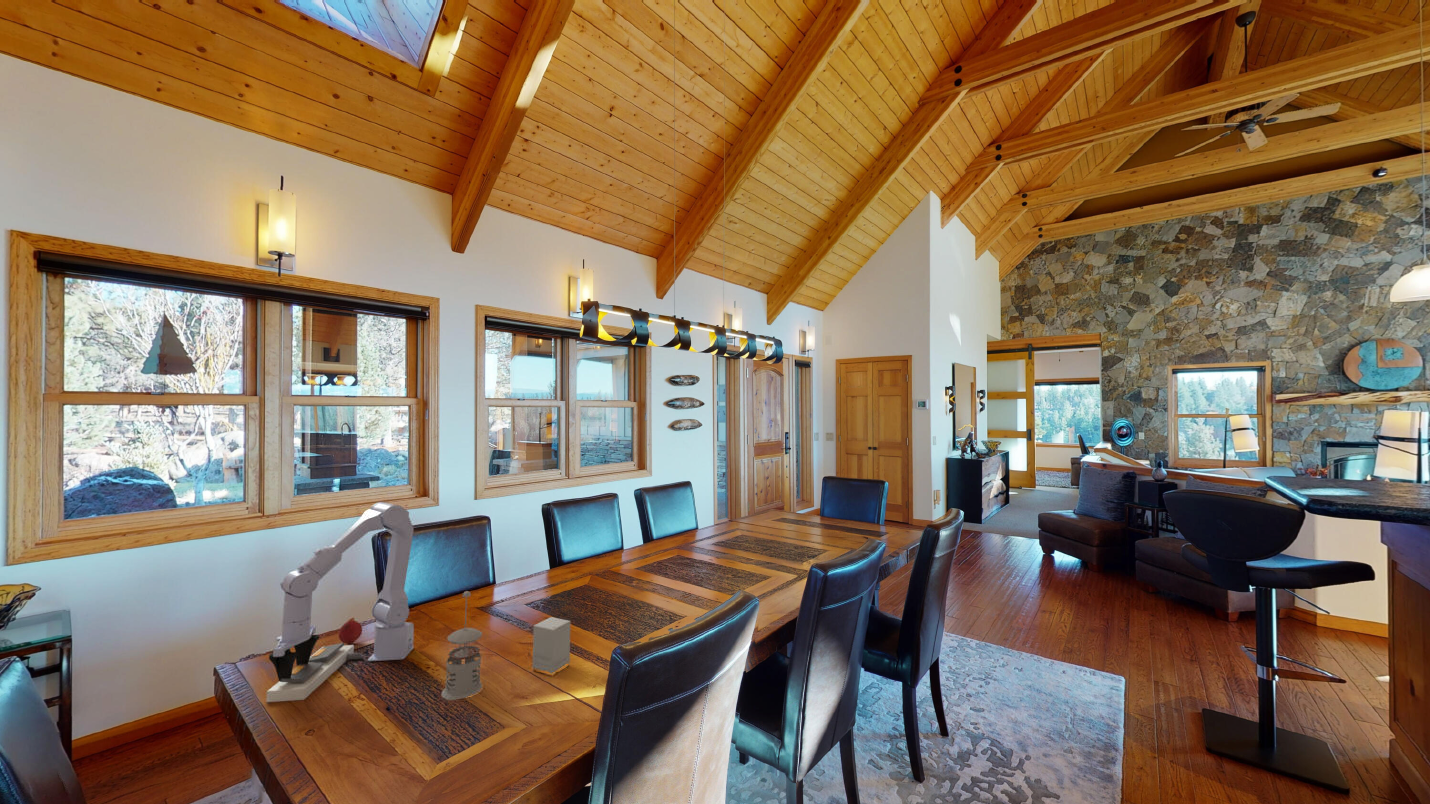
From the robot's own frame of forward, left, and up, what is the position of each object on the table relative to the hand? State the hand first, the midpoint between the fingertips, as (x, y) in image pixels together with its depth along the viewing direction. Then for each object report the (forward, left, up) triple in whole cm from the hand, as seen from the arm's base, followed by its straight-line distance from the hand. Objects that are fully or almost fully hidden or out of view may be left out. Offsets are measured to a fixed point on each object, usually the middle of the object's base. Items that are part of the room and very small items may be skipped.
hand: (293, 673), depth 133 cm
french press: (-42, +7, -4) cm, 43 cm away
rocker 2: (-2, -11, 0) cm, 11 cm away
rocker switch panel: (-4, -6, -4) cm, 8 cm away
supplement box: (-63, -1, -4) cm, 63 cm away
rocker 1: (-2, 0, 0) cm, 2 cm away
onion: (-2, -25, -4) cm, 25 cm away
